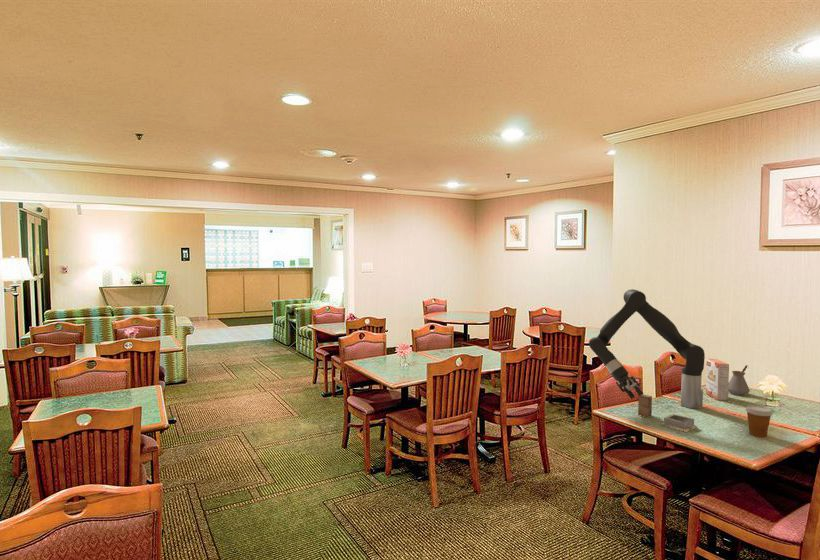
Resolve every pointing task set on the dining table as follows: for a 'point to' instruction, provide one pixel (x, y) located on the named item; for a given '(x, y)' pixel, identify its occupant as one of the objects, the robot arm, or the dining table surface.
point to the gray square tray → (679, 422)
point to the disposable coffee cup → (758, 420)
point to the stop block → (645, 405)
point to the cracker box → (717, 379)
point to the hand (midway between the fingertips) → (637, 396)
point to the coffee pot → (738, 383)
